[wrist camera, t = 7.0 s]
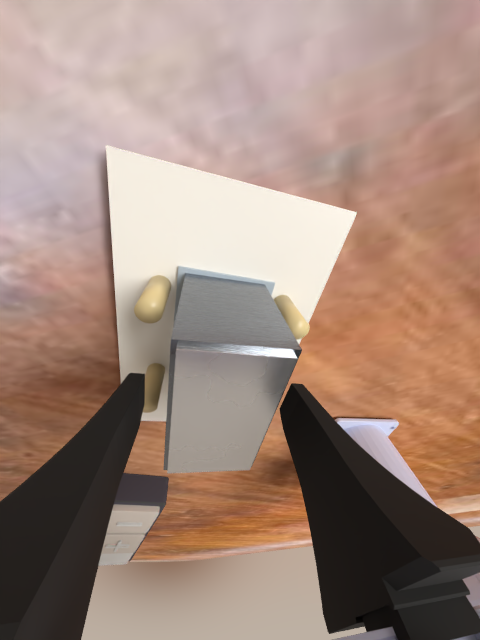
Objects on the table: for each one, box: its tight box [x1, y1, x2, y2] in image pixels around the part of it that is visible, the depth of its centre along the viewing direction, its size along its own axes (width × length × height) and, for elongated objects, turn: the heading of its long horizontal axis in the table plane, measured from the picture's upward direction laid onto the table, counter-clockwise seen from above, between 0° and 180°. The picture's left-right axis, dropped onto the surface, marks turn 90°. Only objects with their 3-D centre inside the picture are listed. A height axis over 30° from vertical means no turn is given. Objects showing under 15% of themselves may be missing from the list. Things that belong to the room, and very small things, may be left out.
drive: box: [164, 273, 302, 473], centre depth 12 cm, size 8×4×6 cm, turn 168°
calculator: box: [98, 473, 169, 566], centre depth 25 cm, size 11×4×15 cm
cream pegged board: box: [106, 145, 357, 421], centre depth 14 cm, size 18×12×4 cm, turn 167°
